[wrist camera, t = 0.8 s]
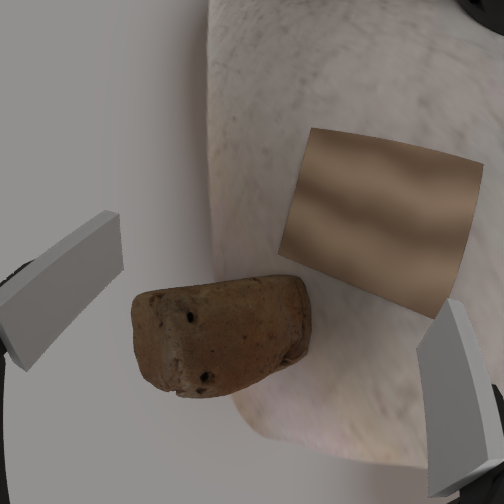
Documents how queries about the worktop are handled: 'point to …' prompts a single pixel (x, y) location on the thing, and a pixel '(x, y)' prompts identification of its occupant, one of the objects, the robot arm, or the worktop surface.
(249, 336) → the block
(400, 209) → the slab
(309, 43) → the worktop surface
